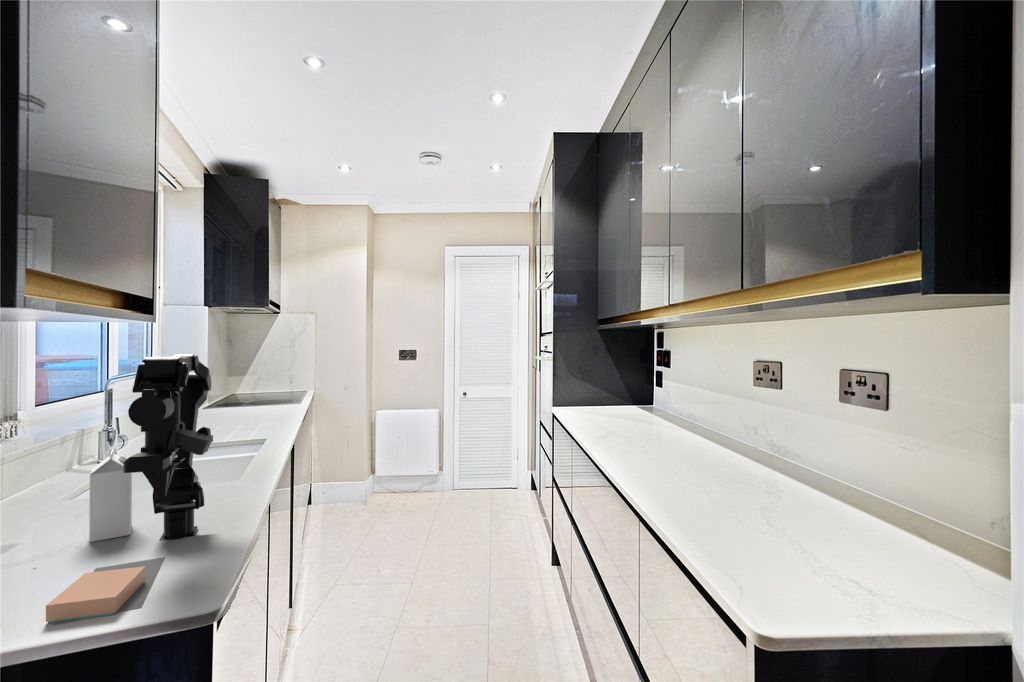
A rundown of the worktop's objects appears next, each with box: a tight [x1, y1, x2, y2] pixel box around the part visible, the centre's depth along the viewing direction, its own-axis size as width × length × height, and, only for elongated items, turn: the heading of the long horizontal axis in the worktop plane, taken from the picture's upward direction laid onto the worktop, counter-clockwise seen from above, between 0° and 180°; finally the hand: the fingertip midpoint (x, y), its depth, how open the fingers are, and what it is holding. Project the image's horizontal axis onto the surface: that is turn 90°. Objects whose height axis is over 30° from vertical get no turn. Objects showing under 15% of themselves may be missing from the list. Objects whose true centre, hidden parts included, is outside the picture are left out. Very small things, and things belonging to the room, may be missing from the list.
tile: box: [45, 566, 146, 624], centre depth 81 cm, size 3×9×11 cm
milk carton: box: [88, 448, 133, 543], centre depth 111 cm, size 7×7×19 cm
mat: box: [52, 556, 166, 626], centre depth 86 cm, size 21×11×1 cm, turn 27°
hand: (162, 496), depth 97 cm, fingers closed
